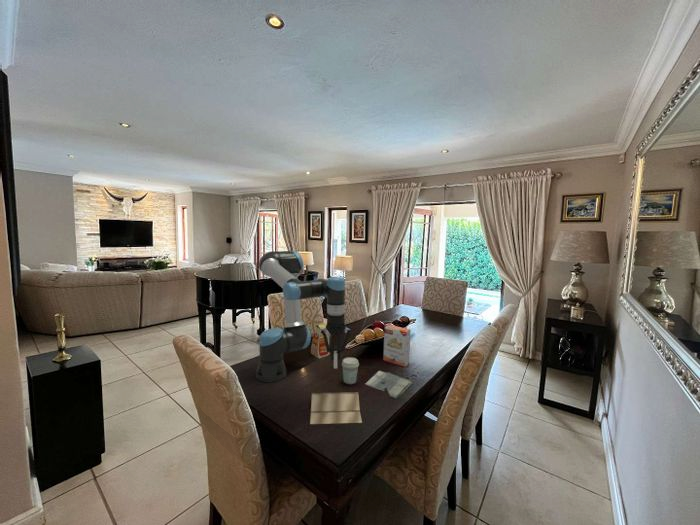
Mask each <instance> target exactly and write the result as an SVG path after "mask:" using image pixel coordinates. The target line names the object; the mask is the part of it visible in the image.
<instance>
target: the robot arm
mask: <svg viewBox="0 0 700 525" xmlns="http://www.w3.org/2000/svg"><path fill="white" fill-rule="evenodd" d="M258 268H259V270H260V272H261V273H262V274H263V275H264V276H267V277H269V278H271V280H273V282H275V283H276V284H277V285H278V286H279V287H281V289H282V295H283V304H284V313H285V314H284V316H285V324H284V325H283V329H282V328H280V327H274V328H268V329H266V330H264V331H263V332H261V334H260V335H259V342H258V344H259V345H258V346H259V363H258V365H257V367H256V371H255V377H256V378H255V379H256V380H258V381H259V382H262V383H274V382H278V381H281V380H282V379H284V378H286V376H287V367H286V365H285V362H284V354H287V353H291V352H296V351H301V350H304V349H306V348H308V347H309V345H310V343H311V339H312V338H311V337H312V335H311V330H310V328H309V327H308V326H307V325H306V323H305V322H304V320H303V317H302V308H301V307H302V305H301V300H304V299H313V298H320V297H323V298H326V301H327V302H326V313H327V314H326V323H327V324H326V327H325V328H324V329H321V333H322V335H323V336H324V341H325V345H326V349H327V352H329V354H330V360H331V361H333V369H338V361H341V353H342V352H343V353H344V352H345V350H346V349H345V348H346V345H347V341H348V337H349V335H350V333H351V329H350V328H348V327H347V326H346V323H345V318H346V317H345V311H346V310H345V307H346V306H345V304H346V303H345V302H346V300H345V299H346V285H345V284H346V283H345V282H346V280H345V278H344V277H340V276H331V277H328V278H327V279H325V278H315V279H314V280H300V279H299V278H298V277H299V276H300V275H301V272H302V271H303V269H304V260H303V257H302V255H301V254H300V252H299V251H295V250H294V251H293V250H282V251H281V250H277V251H275V250H273V251H269V252H266V253H265V254H263V255H262V256H260V259H259V260H258ZM326 330H327V331H328V334H329V335H330V336H331V337H330V342H329V343H328V339H327V335H326V333H327V331H326ZM343 332H344V336H343V340H342V343H341V335H342V333H343ZM335 336H336V351H335Z"/></svg>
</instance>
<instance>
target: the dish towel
mask: <svg viewBox="0 0 700 525" xmlns="http://www.w3.org/2000/svg"><path fill="white" fill-rule="evenodd" d="M412 383H413V382H412V381H411V380H409V379H406V378H404V377H401V376H398V375H396V374H393V373H391V372H388V371H387V372H384V371H381V370H378V371H377V372H376V373H375V374H374V375H373V376H372V377H371V378H370V379H368V381H367V382H366V383H364V384H365V385H367V386H368V387H372V388H374V389H377V390H380V391H383V392H385V389H386V391H387V392H388V395H389V398H391V399H394V400H397V399H398V398H399V397H401V396H402V394H403V393H405V390H406V389H407V390H408V389H409V388H410V386H411V385H412ZM408 387H409V388H408ZM407 390H406V391H407Z"/></svg>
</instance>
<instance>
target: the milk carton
mask: <svg viewBox="0 0 700 525" xmlns="http://www.w3.org/2000/svg"><path fill="white" fill-rule="evenodd" d="M326 325H327V322H325V323H320V322H317V324H316V326H315V329H314V332H313V336H312V342H311V348H310V354H311V355H313V356H314V357H315V358H318V359H321V358H324V357H327V356H329V355H330V352H327V349H326V345H325V341H324V336H323V335H322V333H321V329H324V328H325V327H326ZM326 331H327V330H326ZM326 335H327V339H328V343H329V344H330V337H329V332H328V331H327V333H326Z"/></svg>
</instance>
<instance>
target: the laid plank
mask: <svg viewBox="0 0 700 525" xmlns="http://www.w3.org/2000/svg"><path fill="white" fill-rule="evenodd" d="M309 421H310V422H309V424H310V425H326V424H327V425H328V424H329V425H332V424H333V425H334V424H361V423H363V421H362V415H361V410H354V411H314V412H311V411H310V420H309Z"/></svg>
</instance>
